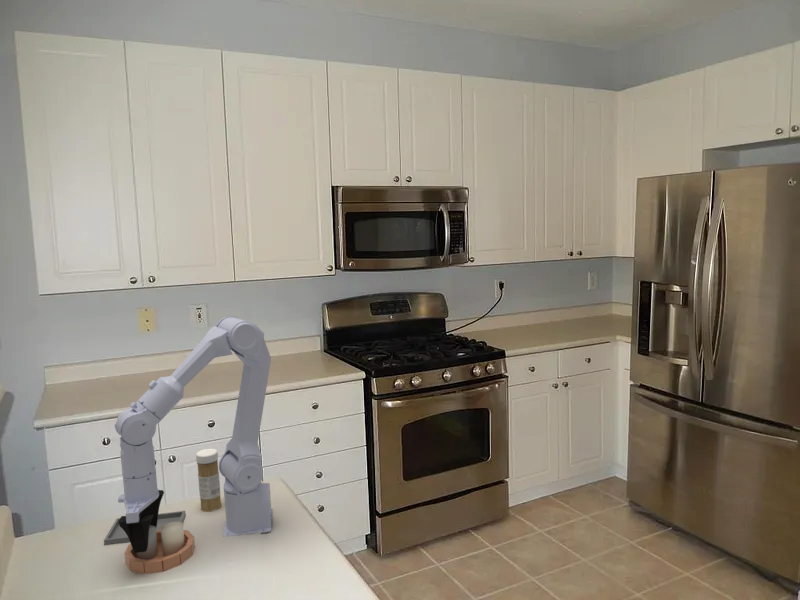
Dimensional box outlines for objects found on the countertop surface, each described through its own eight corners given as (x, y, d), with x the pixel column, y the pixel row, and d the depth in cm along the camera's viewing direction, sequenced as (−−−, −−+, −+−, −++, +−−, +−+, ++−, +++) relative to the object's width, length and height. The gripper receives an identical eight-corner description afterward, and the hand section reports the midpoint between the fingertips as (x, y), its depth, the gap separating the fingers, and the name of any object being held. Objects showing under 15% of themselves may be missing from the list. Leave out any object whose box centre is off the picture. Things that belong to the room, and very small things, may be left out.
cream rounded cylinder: (186, 544, 116) (184, 520, 115) (183, 555, 112) (181, 530, 111) (165, 547, 115) (163, 523, 114) (160, 558, 111) (158, 533, 111)
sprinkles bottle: (216, 502, 135) (212, 446, 133) (225, 509, 132) (220, 451, 130) (197, 509, 132) (192, 451, 131) (204, 516, 129) (200, 457, 127)
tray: (185, 517, 129) (185, 510, 128) (178, 538, 120) (177, 531, 120) (117, 525, 126) (116, 518, 126) (104, 547, 117) (103, 540, 117)
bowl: (198, 537, 120) (197, 525, 120) (188, 570, 108) (187, 557, 108) (135, 544, 118) (134, 532, 118) (119, 579, 106) (117, 566, 106)
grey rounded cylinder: (159, 547, 115) (157, 523, 114) (155, 559, 111) (153, 534, 110) (138, 550, 114) (135, 526, 114) (132, 562, 110) (130, 537, 110)
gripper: (127, 459, 117) (133, 524, 119) (104, 491, 103) (112, 564, 104) (164, 456, 118) (170, 520, 120) (147, 487, 104) (154, 559, 106)
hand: (145, 540), depth 112 cm, fingers open, 7 cm apart
